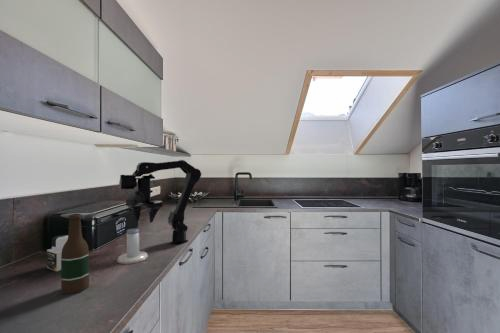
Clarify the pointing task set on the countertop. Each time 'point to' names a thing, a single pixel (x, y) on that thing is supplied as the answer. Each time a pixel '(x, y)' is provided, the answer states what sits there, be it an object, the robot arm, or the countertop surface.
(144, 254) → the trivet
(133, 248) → the grey-topped white cylinder
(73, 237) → the beer bottle
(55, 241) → the medicine bottle
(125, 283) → the countertop surface
